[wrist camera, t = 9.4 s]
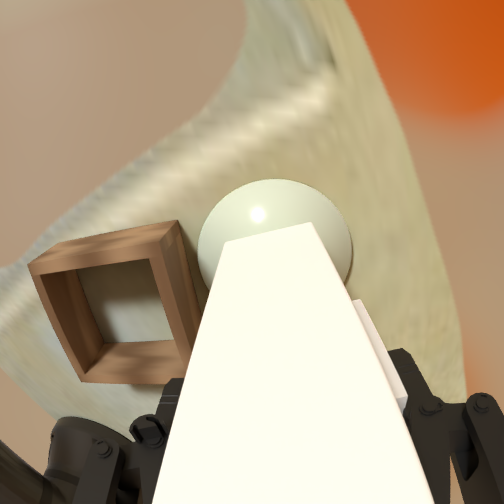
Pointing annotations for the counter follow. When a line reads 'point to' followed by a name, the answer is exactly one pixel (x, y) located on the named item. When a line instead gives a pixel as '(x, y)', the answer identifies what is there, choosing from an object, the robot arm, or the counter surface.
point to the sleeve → (82, 321)
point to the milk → (286, 390)
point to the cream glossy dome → (272, 221)
